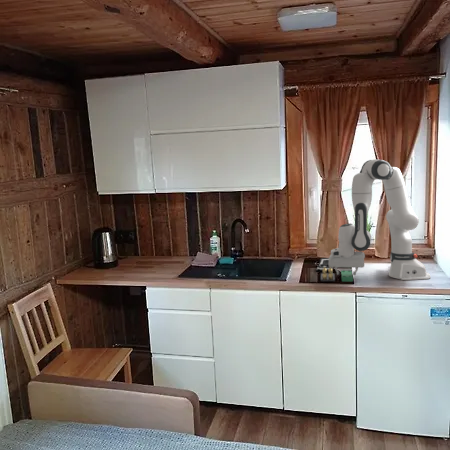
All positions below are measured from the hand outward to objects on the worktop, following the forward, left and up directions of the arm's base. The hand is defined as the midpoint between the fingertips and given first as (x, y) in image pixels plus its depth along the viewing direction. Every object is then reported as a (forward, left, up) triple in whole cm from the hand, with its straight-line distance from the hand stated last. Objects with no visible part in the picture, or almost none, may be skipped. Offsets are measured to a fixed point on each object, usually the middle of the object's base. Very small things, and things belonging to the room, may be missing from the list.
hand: (346, 274), depth 270 cm
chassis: (+11, -1, -2) cm, 11 cm away
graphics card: (+12, -25, -3) cm, 28 cm away
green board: (0, -1, -2) cm, 2 cm away
